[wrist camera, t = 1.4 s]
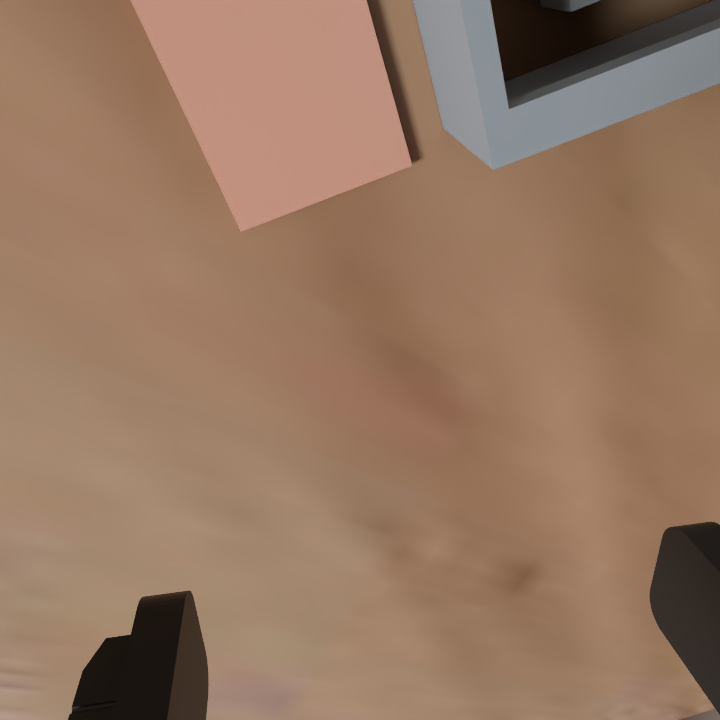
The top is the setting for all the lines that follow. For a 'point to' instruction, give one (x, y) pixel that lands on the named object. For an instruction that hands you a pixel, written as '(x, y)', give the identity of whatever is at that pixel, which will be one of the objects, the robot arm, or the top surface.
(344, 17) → the terracotta mat
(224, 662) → the top surface
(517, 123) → the box
